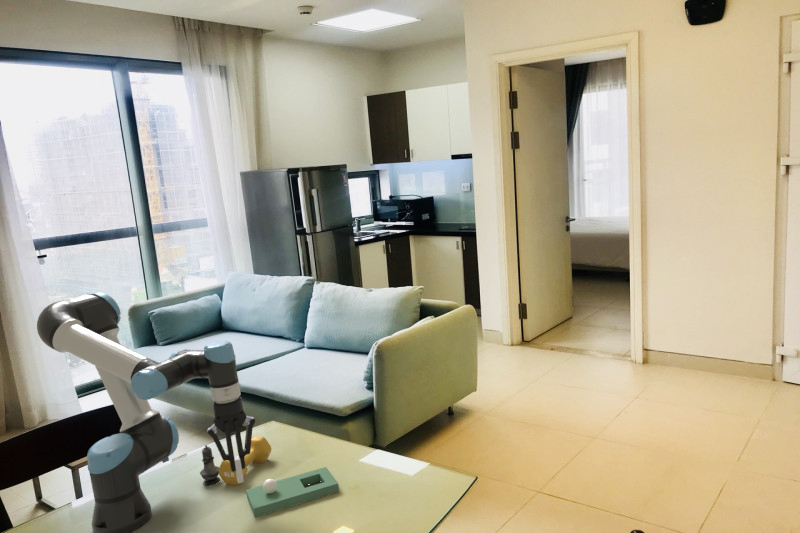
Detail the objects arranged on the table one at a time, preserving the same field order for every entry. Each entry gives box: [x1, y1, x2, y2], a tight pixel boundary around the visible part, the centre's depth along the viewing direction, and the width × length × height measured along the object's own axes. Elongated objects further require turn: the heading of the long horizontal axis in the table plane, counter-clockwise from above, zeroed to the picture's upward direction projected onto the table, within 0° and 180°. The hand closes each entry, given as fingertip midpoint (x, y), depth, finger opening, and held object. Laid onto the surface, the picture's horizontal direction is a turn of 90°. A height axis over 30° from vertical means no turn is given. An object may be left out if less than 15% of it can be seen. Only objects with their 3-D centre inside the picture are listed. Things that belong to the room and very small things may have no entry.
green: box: [245, 466, 340, 518], centre depth 176 cm, size 24×12×2 cm, turn 114°
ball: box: [262, 478, 277, 494], centre depth 173 cm, size 4×4×4 cm
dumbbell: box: [218, 435, 272, 486], centre depth 193 cm, size 19×9×8 cm, turn 162°
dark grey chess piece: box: [199, 444, 221, 487], centre depth 189 cm, size 6×6×12 cm
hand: (240, 480), depth 170 cm, fingers closed
